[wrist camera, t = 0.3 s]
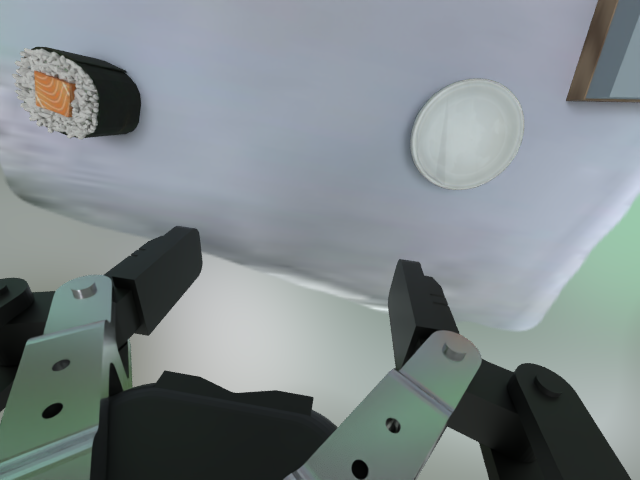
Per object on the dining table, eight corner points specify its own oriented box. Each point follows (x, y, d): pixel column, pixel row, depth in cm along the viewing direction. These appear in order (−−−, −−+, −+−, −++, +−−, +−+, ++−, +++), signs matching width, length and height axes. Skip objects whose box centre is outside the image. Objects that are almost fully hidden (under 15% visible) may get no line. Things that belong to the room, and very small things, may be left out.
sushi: (74, 49, 34) (2, 31, 27) (145, 77, 35) (93, 67, 28) (73, 119, 37) (8, 120, 30) (137, 143, 38) (89, 150, 31)
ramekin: (385, 125, 36) (392, 128, 31) (471, 59, 32) (494, 49, 27) (431, 197, 39) (445, 210, 34) (515, 143, 35) (542, 148, 31)
